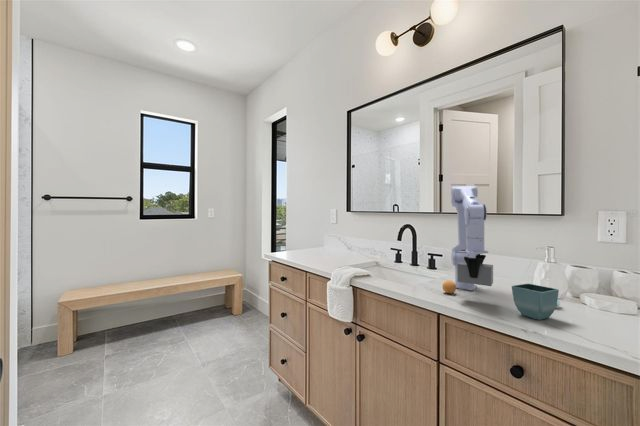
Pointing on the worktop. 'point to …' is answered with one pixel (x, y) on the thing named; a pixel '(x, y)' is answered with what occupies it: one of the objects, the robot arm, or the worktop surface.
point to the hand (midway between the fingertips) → (475, 276)
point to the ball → (449, 287)
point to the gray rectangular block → (483, 275)
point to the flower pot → (535, 300)
